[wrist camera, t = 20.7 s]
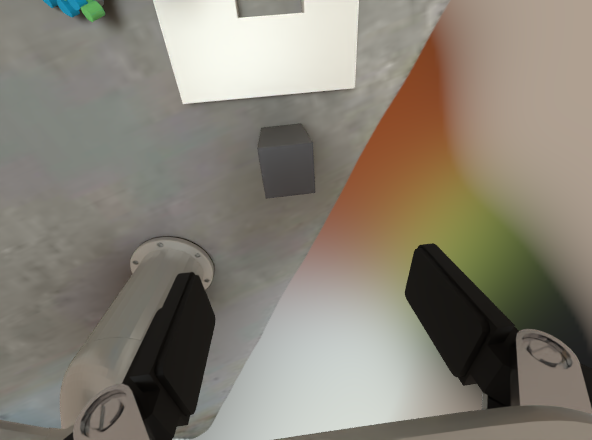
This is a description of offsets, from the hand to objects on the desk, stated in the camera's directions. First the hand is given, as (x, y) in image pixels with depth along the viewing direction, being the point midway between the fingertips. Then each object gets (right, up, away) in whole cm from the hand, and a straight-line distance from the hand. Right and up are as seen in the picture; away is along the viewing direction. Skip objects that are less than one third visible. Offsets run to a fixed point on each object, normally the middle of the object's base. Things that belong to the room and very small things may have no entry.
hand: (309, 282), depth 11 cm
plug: (-2, +12, +21) cm, 24 cm away
